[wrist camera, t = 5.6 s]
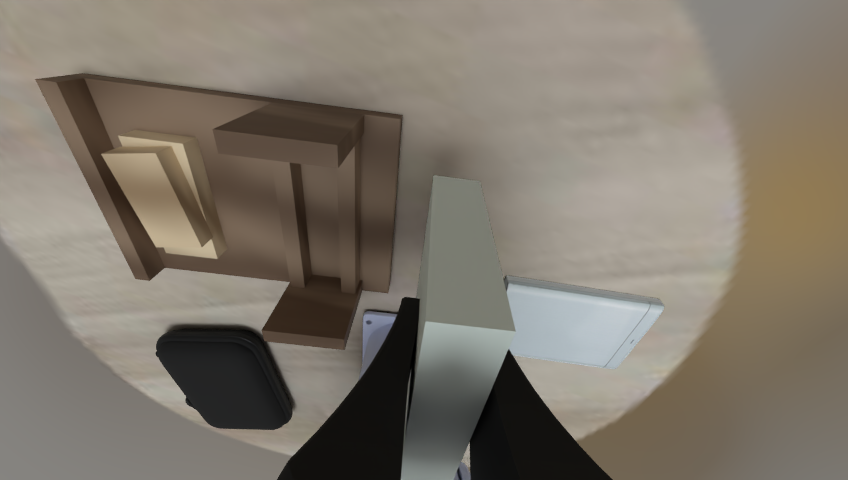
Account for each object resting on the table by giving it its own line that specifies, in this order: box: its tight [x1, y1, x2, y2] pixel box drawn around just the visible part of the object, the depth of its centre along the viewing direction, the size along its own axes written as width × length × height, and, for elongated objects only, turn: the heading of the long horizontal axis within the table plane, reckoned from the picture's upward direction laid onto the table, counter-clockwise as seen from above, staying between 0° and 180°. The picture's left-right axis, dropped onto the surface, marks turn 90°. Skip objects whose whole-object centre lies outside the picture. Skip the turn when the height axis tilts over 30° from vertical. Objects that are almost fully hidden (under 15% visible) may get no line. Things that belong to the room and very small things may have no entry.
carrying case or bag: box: [156, 329, 292, 430], centre depth 32 cm, size 11×3×15 cm
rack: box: [35, 73, 402, 350], centre depth 19 cm, size 13×18×6 cm
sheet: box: [401, 175, 516, 480], centre depth 13 cm, size 9×2×8 cm, turn 173°
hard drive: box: [504, 275, 664, 369], centre depth 27 cm, size 2×8×12 cm
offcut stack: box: [101, 130, 227, 259], centre depth 20 cm, size 8×4×2 cm, turn 173°
